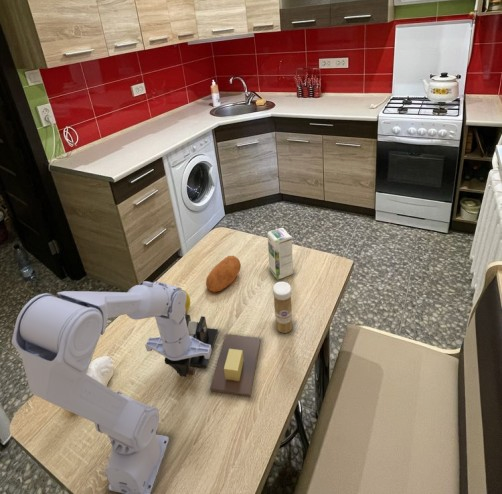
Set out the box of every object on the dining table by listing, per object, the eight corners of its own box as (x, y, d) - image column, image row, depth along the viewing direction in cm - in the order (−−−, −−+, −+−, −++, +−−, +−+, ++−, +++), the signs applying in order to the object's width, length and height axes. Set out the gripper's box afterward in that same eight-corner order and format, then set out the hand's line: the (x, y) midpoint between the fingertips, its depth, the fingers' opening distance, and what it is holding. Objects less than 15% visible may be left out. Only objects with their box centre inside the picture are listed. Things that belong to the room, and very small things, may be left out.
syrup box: (268, 269, 111) (265, 232, 105) (284, 263, 113) (282, 226, 107) (277, 280, 106) (275, 242, 100) (294, 273, 108) (292, 236, 102)
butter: (239, 381, 78) (237, 370, 76) (225, 379, 78) (223, 368, 77) (243, 360, 82) (242, 350, 81) (230, 358, 83) (229, 348, 81)
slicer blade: (195, 375, 80) (192, 375, 78) (179, 373, 81) (175, 373, 79) (203, 323, 86) (200, 322, 84) (188, 321, 86) (185, 320, 84)
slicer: (206, 368, 82) (201, 343, 78) (175, 364, 84) (168, 339, 80) (218, 332, 91) (214, 307, 87) (189, 329, 92) (184, 305, 89)
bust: (115, 373, 85) (88, 335, 85) (126, 372, 80) (98, 333, 80) (69, 419, 76) (40, 377, 76) (79, 421, 71) (47, 377, 71)
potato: (247, 274, 110) (245, 259, 106) (217, 301, 102) (214, 285, 98) (231, 262, 114) (229, 247, 110) (201, 287, 106) (198, 272, 102)
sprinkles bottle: (279, 336, 88) (276, 296, 83) (273, 322, 92) (270, 283, 87) (295, 330, 89) (294, 291, 84) (288, 316, 93) (286, 278, 88)
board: (250, 397, 75) (249, 394, 75) (210, 391, 77) (210, 388, 77) (260, 340, 88) (260, 337, 87) (226, 336, 89) (226, 334, 89)
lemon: (188, 321, 95) (183, 300, 91) (169, 319, 96) (164, 298, 93) (194, 305, 100) (190, 284, 96) (177, 303, 101) (172, 283, 98)
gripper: (212, 318, 75) (219, 359, 81) (150, 312, 78) (162, 352, 84) (201, 348, 69) (211, 390, 75) (135, 340, 72) (149, 381, 78)
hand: (184, 372), depth 79 cm, fingers closed, pressing on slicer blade
